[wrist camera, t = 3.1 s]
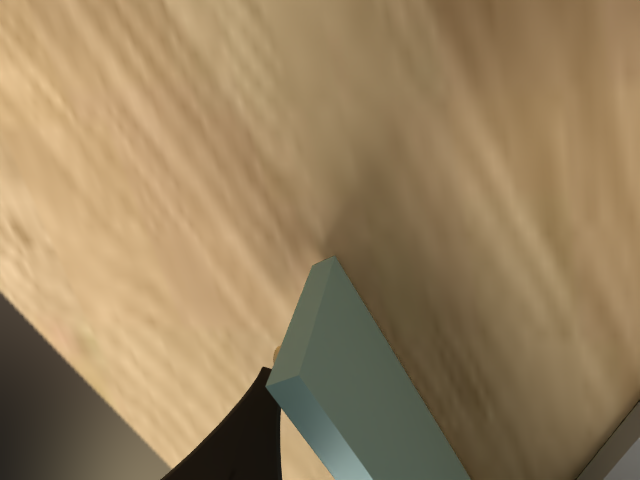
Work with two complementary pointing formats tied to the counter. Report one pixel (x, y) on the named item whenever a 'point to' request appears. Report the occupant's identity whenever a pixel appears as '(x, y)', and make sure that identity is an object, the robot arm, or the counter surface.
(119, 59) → the counter surface
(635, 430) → the grey open box
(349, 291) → the door
